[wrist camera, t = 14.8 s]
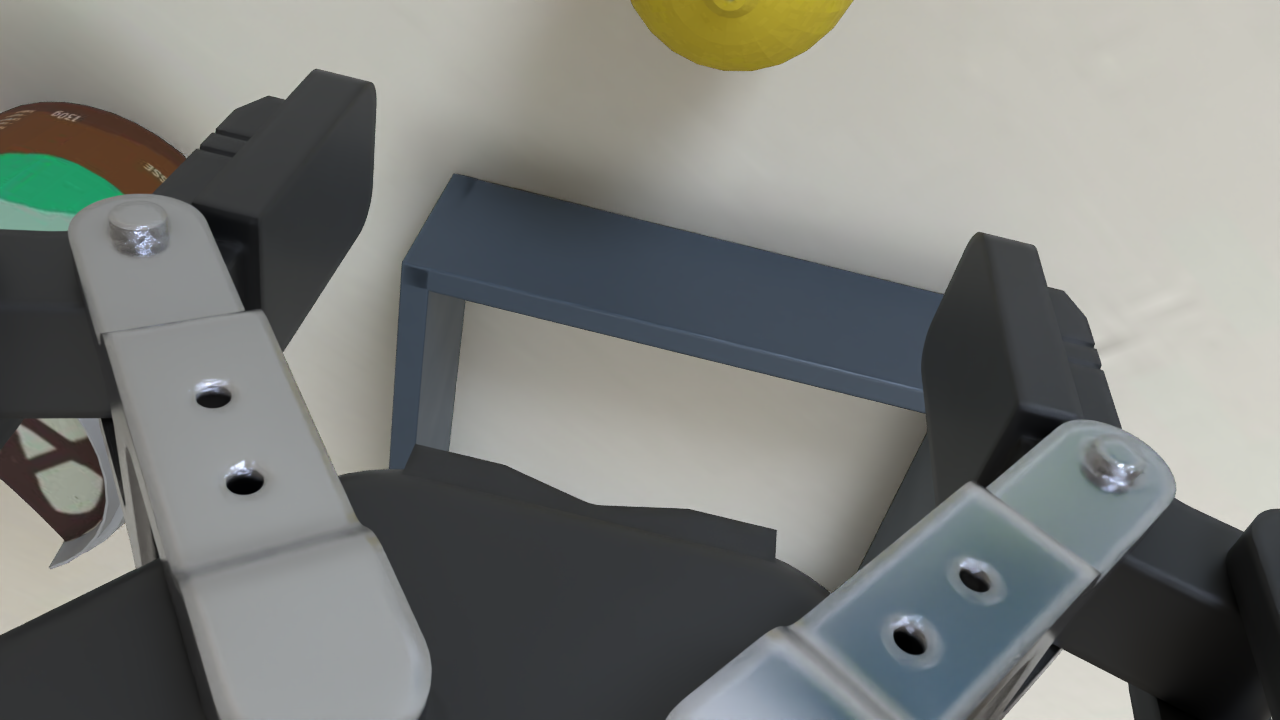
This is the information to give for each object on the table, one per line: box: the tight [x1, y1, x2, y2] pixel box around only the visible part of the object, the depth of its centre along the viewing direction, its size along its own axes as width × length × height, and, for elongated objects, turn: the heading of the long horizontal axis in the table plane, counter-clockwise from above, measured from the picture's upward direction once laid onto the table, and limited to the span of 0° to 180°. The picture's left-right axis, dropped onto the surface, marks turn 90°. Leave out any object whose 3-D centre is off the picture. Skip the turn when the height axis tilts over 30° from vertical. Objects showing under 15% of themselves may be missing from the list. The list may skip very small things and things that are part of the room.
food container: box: [0, 102, 186, 569], centre depth 32 cm, size 12×6×10 cm, turn 25°
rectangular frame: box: [389, 174, 944, 571], centre depth 36 cm, size 18×16×5 cm
